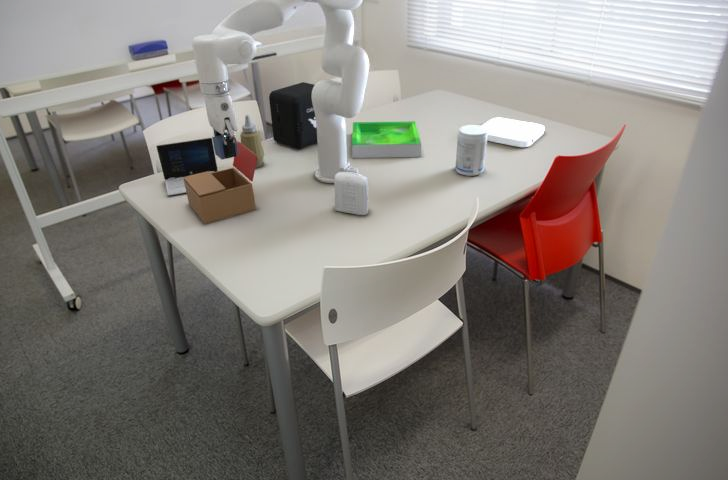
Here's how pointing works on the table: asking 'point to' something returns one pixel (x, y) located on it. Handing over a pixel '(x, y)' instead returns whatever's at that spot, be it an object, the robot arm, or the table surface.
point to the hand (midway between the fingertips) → (226, 153)
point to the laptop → (185, 162)
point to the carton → (219, 194)
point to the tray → (385, 139)
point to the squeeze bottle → (252, 140)
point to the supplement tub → (471, 150)
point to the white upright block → (351, 193)
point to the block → (221, 146)
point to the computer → (513, 131)
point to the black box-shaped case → (293, 116)
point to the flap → (245, 161)
